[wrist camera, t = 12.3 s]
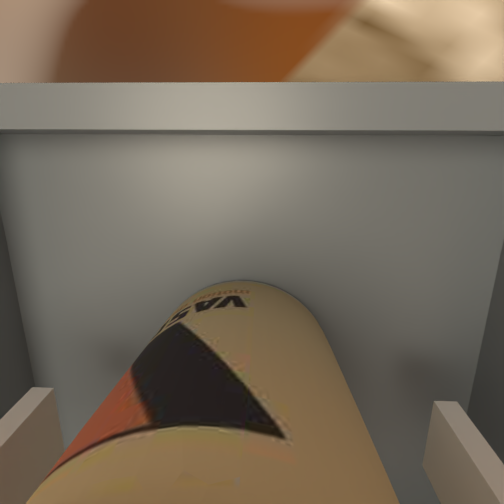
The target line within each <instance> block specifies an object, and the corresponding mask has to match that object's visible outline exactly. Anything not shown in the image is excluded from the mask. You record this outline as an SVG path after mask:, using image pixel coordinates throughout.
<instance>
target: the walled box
mask: <svg viewBox="0 0 504 504" xmlns="http://www.w3.org/2000/svg"><path fill="white" fill-rule="evenodd" d="M236 280H239V281H254V282H259V283H264V284H268V285H271V286H274V287H276V288H279V289H281V290H283V291H285V292H286V293H288V294H290V295H292V296H293V297H294V298H296V299H297V300H299V301H300V302H301V303H302V304H303V305H304V306H305V307H306V308H307V309H308V310H309V311H310V312H311V313H312V315H313V316H314V317H315V319H316V320H317V322H318V324H319V325H320V327H321V329H322V330H323V332H324V335H325V337H326V339H327V341H328V343H329V345H330V347H331V349H332V351H333V354H334V356H335V358H336V360H337V363H338V365H339V367H340V369H341V372H342V374H343V376H344V378H345V380H346V383H347V385H348V387H349V389H350V392H351V394H352V396H353V398H354V401H355V403H356V405H357V407H358V410H359V412H360V414H361V416H362V419H363V421H364V423H365V425H366V428H367V430H368V432H369V435H370V437H371V439H372V441H373V444H374V446H375V448H376V451H377V453H378V455H379V457H380V460H381V462H382V464H383V467H384V469H385V471H386V473H387V476H388V478H389V480H390V483H391V485H392V487H393V489H394V492H395V494H396V496H397V499H398V501H399V503H400V504H441V503H440V501H439V499H438V497H437V495H436V493H435V491H434V489H433V486H432V484H431V482H430V480H429V478H428V476H427V474H426V472H425V470H424V468H423V466H422V464H423V459H424V453H425V447H426V442H427V436H428V431H429V425H430V419H431V414H432V408H433V402H434V401H456V402H458V403H459V405H460V406H461V408H462V409H463V410H464V412H465V413H466V414H467V416H468V417H469V418H470V420H471V421H472V422H473V424H474V425H475V426H476V428H477V429H478V430H479V432H480V433H481V435H482V436H483V437H484V439H485V440H486V441H487V443H488V444H489V445H490V447H491V448H492V449H493V451H494V452H495V453H496V455H497V456H498V457H499V459H500V460H501V461H502V463H503V464H504V82H241V83H239V82H231V83H230V82H227V83H226V82H225V83H223V82H218V83H215V82H214V83H212V82H211V83H210V82H208V83H0V419H1V418H2V417H3V416H4V415H5V414H6V413H7V412H8V411H9V410H10V409H11V408H12V407H13V406H14V405H15V404H16V403H17V402H18V401H19V400H20V399H21V398H22V397H23V396H24V395H25V394H26V393H27V392H28V391H29V390H30V389H31V388H32V387H42V388H54V394H55V399H56V405H57V410H58V416H59V421H60V427H61V433H62V438H63V444H64V449H65V451H66V449H67V448H68V447H69V445H70V444H71V443H72V441H73V440H74V439H75V437H76V436H77V435H78V433H79V432H80V431H81V429H82V428H83V427H84V425H85V424H86V423H87V422H88V420H89V419H90V418H91V417H92V415H93V414H94V413H95V411H96V410H97V409H98V408H99V406H100V405H101V404H102V402H103V401H104V400H105V399H106V397H107V396H108V395H109V393H110V392H111V391H112V390H113V388H114V387H115V386H116V384H117V383H118V382H119V381H120V379H121V378H122V377H123V375H124V374H125V373H126V372H127V370H128V369H129V368H130V366H131V365H132V364H133V363H134V361H135V360H136V359H137V357H138V356H139V355H140V354H141V352H142V351H143V350H144V348H145V347H146V346H147V345H148V343H149V342H150V341H151V340H152V338H153V337H154V336H155V334H156V333H157V332H158V331H159V329H160V328H161V327H162V326H163V324H164V323H165V322H166V321H167V319H168V318H169V317H170V316H171V315H172V313H173V312H174V311H175V310H176V309H177V308H178V307H179V306H180V305H181V304H182V303H183V302H184V301H185V300H187V299H188V298H189V297H191V296H192V295H193V294H195V293H197V292H198V291H200V290H202V289H205V288H207V287H210V286H212V285H215V284H219V283H223V282H228V281H236ZM65 451H64V452H65ZM64 452H63V453H64ZM62 455H63V454H62ZM62 455H61V456H62ZM59 459H60V458H59Z"/></svg>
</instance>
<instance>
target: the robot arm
mask: <svg viewBox="0 0 504 504" xmlns="http://www.w3.org/2000/svg"><path fill="white" fill-rule="evenodd" d="M64 451H65V449H64V444H63V438H62V433H61V427H60V421H59V416H58V410H57V405H56V399H55V394H54V388H42V387H32V388H31V389H30V390H29V391H28V392H27V393H26V394H25V395H24V396H23V397H22V398H21V399H20V400H19V401H18V402H17V403H16V404H15V405H14V406H13V407H12V408H11V409H10V410H9V411H8V412H7V413H6V414H5V415H4V416H3V417H2V418H1V419H0V504H26V502H27V501H28V500H29V498H30V497H31V496H32V494H33V493H34V492H35V490H36V489H37V488H38V486H39V485H40V484H41V483H42V481H43V480H44V479H45V477H46V476H47V475H48V473H49V472H50V471H51V469H52V468H53V467H54V465H55V464H56V463H57V461H58V460H59V458H60V457H61V455H62V454H63V452H64ZM422 466H423V468H424V470H425V472H426V474H427V476H428V478H429V480H430V482H431V484H432V486H433V489H434V491H435V493H436V495H437V497H438V499H439V501H440V503H441V504H504V464H503V463H502V461H501V460H500V459H499V457H498V456H497V455H496V453H495V452H494V451H493V449H492V448H491V447H490V445H489V444H488V443H487V441H486V440H485V439H484V437H483V436H482V435H481V433H480V432H479V430H478V429H477V428H476V426H475V425H474V424H473V422H472V421H471V420H470V418H469V417H468V416H467V414H466V413H465V412H464V410H463V409H462V408H461V406H460V405H459V403H458V402H456V401H434V402H433V408H432V414H431V419H430V425H429V431H428V436H427V442H426V447H425V453H424V459H423V464H422Z"/></svg>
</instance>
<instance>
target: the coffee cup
mask: <svg viewBox="0 0 504 504" xmlns="http://www.w3.org/2000/svg"><path fill="white" fill-rule="evenodd" d="M26 504H400V503H399V501H398V499H397V496H396V494H395V492H394V489H393V487H392V485H391V483H390V480H389V478H388V476H387V473H386V471H385V469H384V467H383V464H382V462H381V460H380V457H379V455H378V453H377V451H376V448H375V446H374V444H373V441H372V439H371V437H370V435H369V432H368V430H367V428H366V425H365V423H364V421H363V419H362V416H361V414H360V412H359V410H358V407H357V405H356V403H355V401H354V398H353V396H352V394H351V392H350V389H349V387H348V385H347V383H346V380H345V378H344V376H343V374H342V372H341V369H340V367H339V365H338V363H337V360H336V358H335V356H334V354H333V351H332V349H331V347H330V345H329V343H328V341H327V339H326V337H325V335H324V332H323V330H322V329H321V327H320V325H319V324H318V322H317V320H316V319H315V317H314V316H313V315H312V313H311V312H310V311H309V310H308V309H307V308H306V307H305V306H304V305H303V304H302V303H301V302H300V301H299V300H297V299H296V298H294V297H293V296H292V295H290V294H288V293H286V292H285V291H283V290H281V289H279V288H276V287H274V286H271V285H268V284H264V283H259V282H254V281H239V280H236V281H228V282H223V283H219V284H215V285H212V286H210V287H207V288H205V289H202V290H200V291H198V292H197V293H195V294H193V295H192V296H191V297H189V298H188V299H187V300H185V301H184V302H183V303H182V304H181V305H180V306H179V307H178V308H177V309H176V310H175V311H174V312H173V313H172V315H171V316H170V317H169V318H168V319H167V321H166V322H165V323H164V324H163V326H162V327H161V328H160V329H159V331H158V332H157V333H156V334H155V336H154V337H153V338H152V340H151V341H150V342H149V343H148V345H147V346H146V347H145V348H144V350H143V351H142V352H141V354H140V355H139V356H138V357H137V359H136V360H135V361H134V363H133V364H132V365H131V366H130V368H129V369H128V370H127V372H126V373H125V374H124V375H123V377H122V378H121V379H120V381H119V382H118V383H117V384H116V386H115V387H114V388H113V390H112V391H111V392H110V393H109V395H108V396H107V397H106V399H105V400H104V401H103V402H102V404H101V405H100V406H99V408H98V409H97V410H96V411H95V413H94V414H93V415H92V417H91V418H90V419H89V420H88V422H87V423H86V424H85V425H84V427H83V428H82V429H81V431H80V432H79V433H78V435H77V436H76V437H75V439H74V440H73V441H72V443H71V444H70V445H69V447H68V448H67V449H66V451H65V452H64V453H63V455H62V456H61V457H60V459H59V460H58V461H57V463H56V464H55V465H54V467H53V468H52V469H51V471H50V472H49V473H48V475H47V476H46V477H45V479H44V480H43V481H42V483H41V484H40V485H39V486H38V488H37V489H36V490H35V492H34V493H33V494H32V496H31V497H30V498H29V500H28V501H27V502H26Z"/></svg>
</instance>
